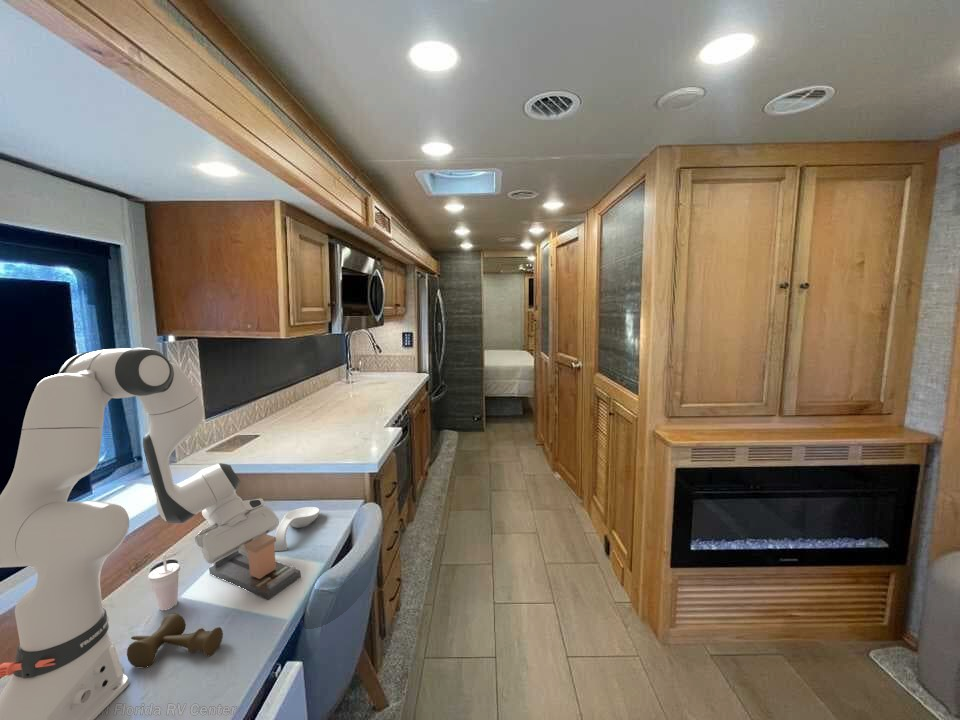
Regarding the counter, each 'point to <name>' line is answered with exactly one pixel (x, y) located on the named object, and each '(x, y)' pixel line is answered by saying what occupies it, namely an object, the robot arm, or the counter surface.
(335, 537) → the counter surface
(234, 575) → the fader track
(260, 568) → the fader knob
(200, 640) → the kendama
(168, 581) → the smoothie
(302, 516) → the spoon rest
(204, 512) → the lightbulb
